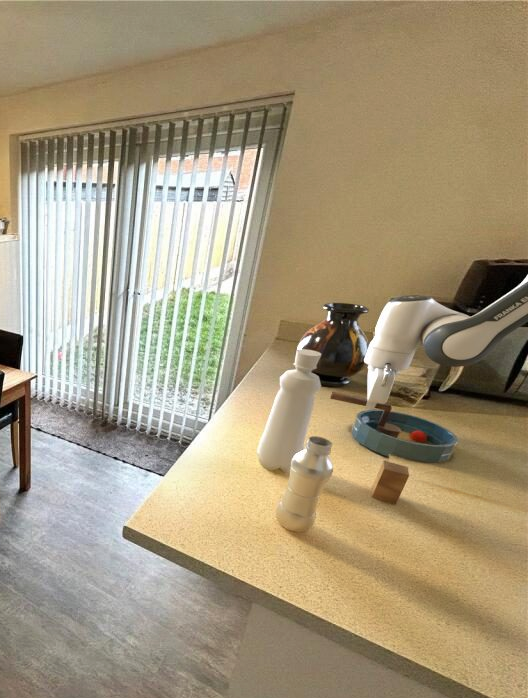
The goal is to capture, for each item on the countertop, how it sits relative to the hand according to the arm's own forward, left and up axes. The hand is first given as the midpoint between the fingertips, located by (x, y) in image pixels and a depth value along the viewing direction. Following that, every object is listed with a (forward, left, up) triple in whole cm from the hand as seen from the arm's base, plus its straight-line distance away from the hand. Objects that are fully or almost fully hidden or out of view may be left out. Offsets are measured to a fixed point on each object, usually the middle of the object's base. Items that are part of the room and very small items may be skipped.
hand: (369, 406), depth 107 cm
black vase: (+11, -44, -10) cm, 47 cm away
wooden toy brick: (-5, +29, -10) cm, 31 cm away
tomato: (-12, -4, -7) cm, 15 cm away
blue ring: (-8, 0, -10) cm, 13 cm away
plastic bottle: (+10, +52, -10) cm, 54 cm away
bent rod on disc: (0, 0, -8) cm, 8 cm away
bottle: (+16, +30, -10) cm, 35 cm away
